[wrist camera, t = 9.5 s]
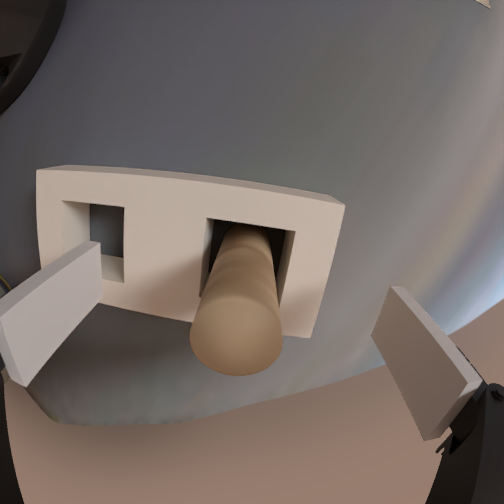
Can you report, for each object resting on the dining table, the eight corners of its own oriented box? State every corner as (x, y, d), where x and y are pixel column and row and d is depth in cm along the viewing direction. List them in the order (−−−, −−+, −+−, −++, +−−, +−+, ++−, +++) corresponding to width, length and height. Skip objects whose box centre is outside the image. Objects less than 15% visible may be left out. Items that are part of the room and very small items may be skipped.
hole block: (69, 268, 19) (44, 287, 16) (67, 164, 17) (36, 169, 13) (302, 308, 20) (310, 337, 17) (329, 195, 17) (345, 205, 14)
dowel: (220, 263, 19) (188, 368, 9) (225, 219, 18) (191, 295, 8) (265, 270, 19) (273, 380, 9) (273, 226, 18) (291, 309, 8)
